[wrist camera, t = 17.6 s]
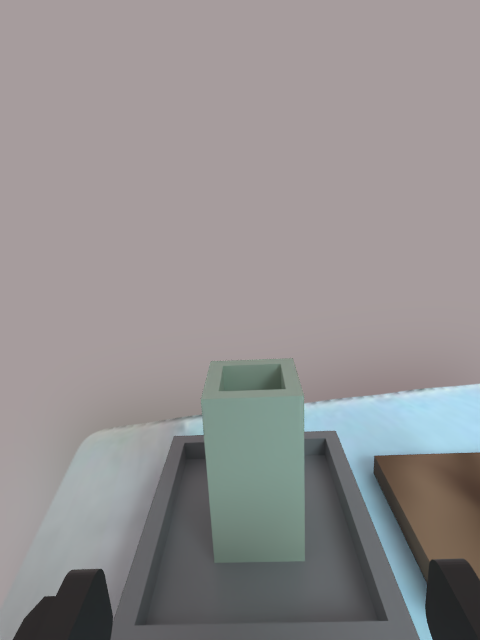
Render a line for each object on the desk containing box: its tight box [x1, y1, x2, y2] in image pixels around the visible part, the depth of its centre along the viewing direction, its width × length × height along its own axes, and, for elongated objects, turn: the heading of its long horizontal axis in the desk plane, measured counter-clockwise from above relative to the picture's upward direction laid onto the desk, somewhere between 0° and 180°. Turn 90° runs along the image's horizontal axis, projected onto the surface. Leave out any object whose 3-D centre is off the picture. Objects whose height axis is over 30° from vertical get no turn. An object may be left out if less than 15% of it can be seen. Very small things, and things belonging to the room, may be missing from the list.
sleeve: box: [201, 358, 305, 563], centre depth 23 cm, size 5×5×10 cm
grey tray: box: [110, 431, 420, 640], centre depth 24 cm, size 13×16×2 cm
